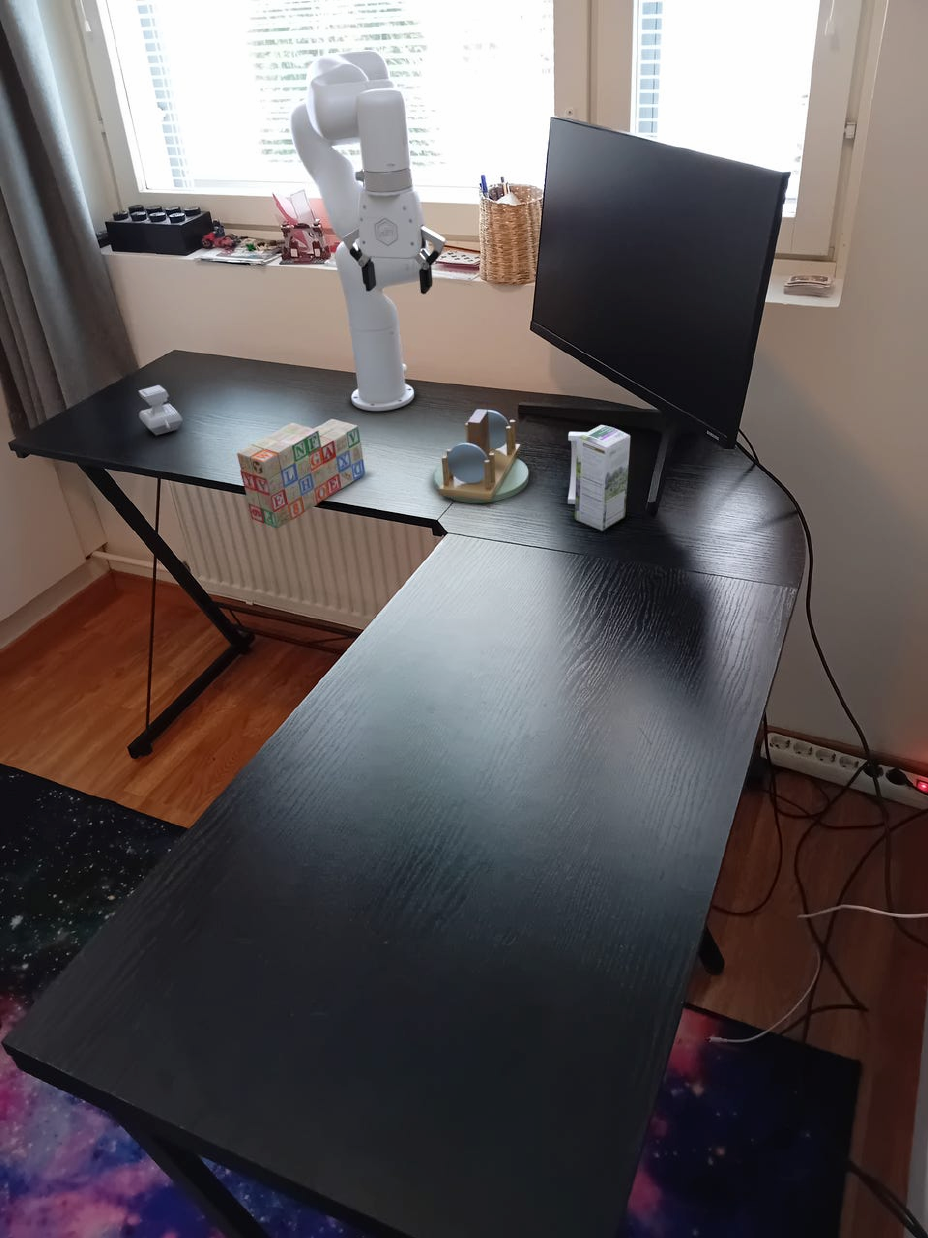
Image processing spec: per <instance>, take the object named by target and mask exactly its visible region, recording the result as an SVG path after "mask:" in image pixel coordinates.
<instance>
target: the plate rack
mask: <svg viewBox="0 0 928 1238" xmlns="http://www.w3.org/2000/svg"><path fill="white" fill-rule="evenodd" d="M464 427H465V429H464V430H465V442H460V443H458V444H456V445H454V446H452V448H447V449H446V450H445V453H446V455H442V456H441V458H440V459H441V460H440V461H441V464H442V472H443V482H442V484H441V485H440V487H439V488H438V490H437V491H438V495H439V496H444V495H446V496H455V497H464V498H474V499H483V500H492V498H493V497H494V495H495V493H496V492H497V490H498V488H499V486H500V485H501V483H502V481H503V480H504V478H505V476H506V474H507V473H508V471H509V469H510V468H511V466H512V464H513V462H514V461H515V459H516V458H518V456H519V454H520V453H521V449H522V448H521V444H520V443H517V441H516V440H517V439H516V438H517V437H516V420H515V419H510V420H509V421H508V420H507V418H506V417H505V416H504V415H503V414H502V413H500V412H498V411H496V410H491V409H481V408H480V409H479V408H478V409H476V410H475V411H474V413H473V414H472V415H471V416H470V417H469V419H468V421H467V422H465V423H464ZM446 496H445V497H446Z"/></svg>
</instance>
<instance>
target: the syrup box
mask: <svg viewBox="0 0 928 1238" xmlns="http://www.w3.org/2000/svg"><path fill="white" fill-rule="evenodd" d="M586 432H587V433H585V434H583V435H581V436H580V437H578V438H577V462H576V496H575V504H574V520H575V521H577V522H580V523H582V524H584V525H587V526H589V527H592V528H594V529H596V530H599V531H601V532H604V531H605V530H607V529H608V528H610V527H612V526H613V525H615V524H616V523H618V522H619V521H621V520H623V519H624V518H626V509H627V493H628V478H629V462H630V449H631V435H630V434H628V433H626V432H624V431H622V430H620V429H617V428H615V427H612V426H608V425H604V424H600V425H598V426H596V427H595V428H593V429H591V430H589V431H586Z"/></svg>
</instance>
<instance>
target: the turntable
mask: <svg viewBox="0 0 928 1238" xmlns="http://www.w3.org/2000/svg"><path fill="white" fill-rule="evenodd" d="M433 477H434V487H435V489H436V490H437V491H438V488H439V487H440V485H441V484H442V482H443V472H442V463H441V464H440V465H439V466H438V467H437V468H436V470H435V472H434V474H433ZM529 478H530V477H529V468H528V466H527V465H526V463H525V462H523V460H520V458H518V457H516V459H515V461H514V462H513V464H512V466H511V468H510V469H509V471H508V473H507V474H506V476H505V478H504V480H503V481H502V483H501V485H500V486H499V488H498V490H497V492H496V493H495V495H494V497H493V498H492V500H483V499H474V498H464V497H455V496H446V495H443V496H444V497H445V498H448V499H450V500H453V501H455V502H459V503H460V502H462V503H466V504H467V503H469V504H486V503H495V502H499V501H502V500H503V501H504V500H506V499H509V498H511V497H513V496H515V495H517V494H519V493H520V492H522V491H523V490H524V489H525V487H526V486H527V485H528V483H529Z"/></svg>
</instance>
